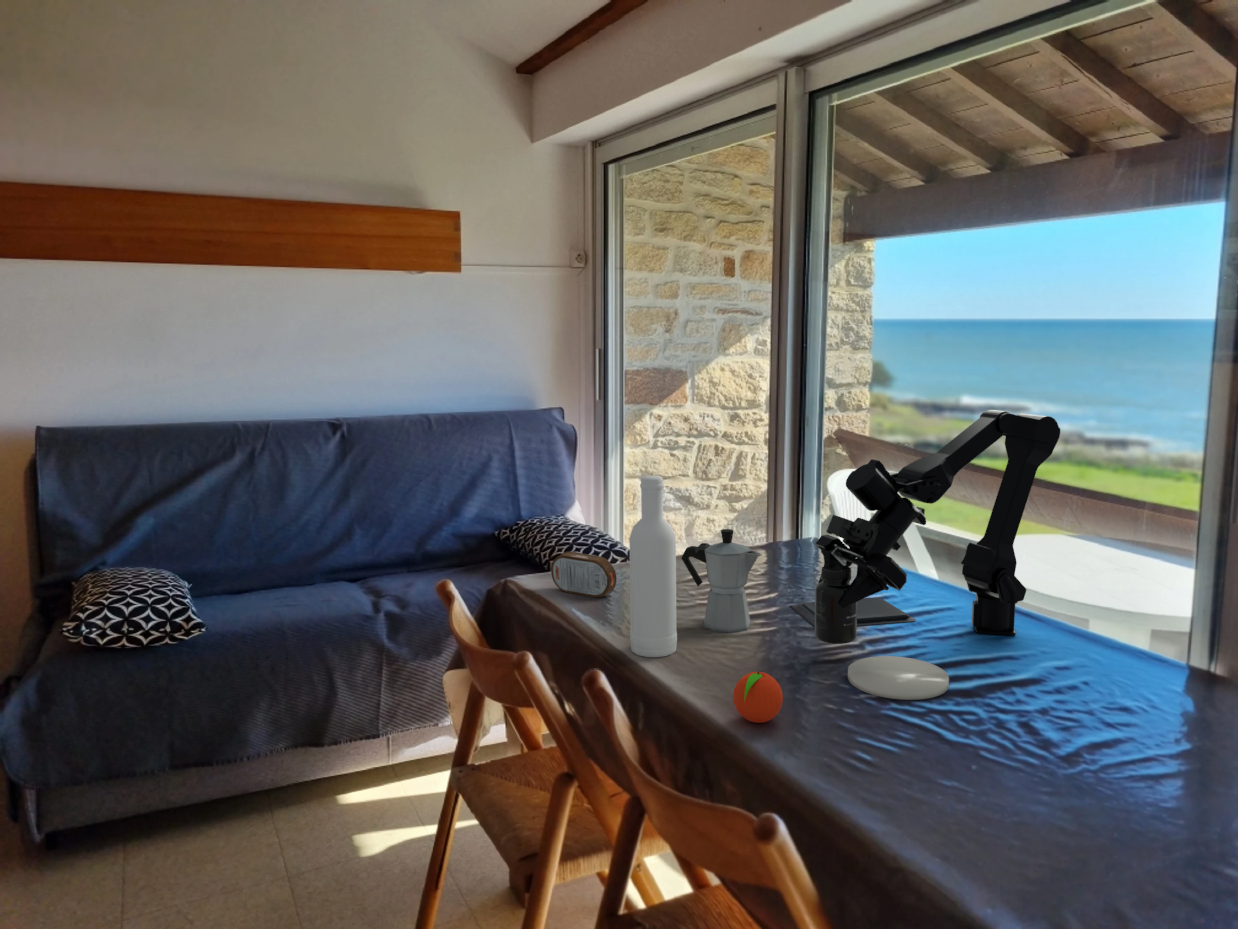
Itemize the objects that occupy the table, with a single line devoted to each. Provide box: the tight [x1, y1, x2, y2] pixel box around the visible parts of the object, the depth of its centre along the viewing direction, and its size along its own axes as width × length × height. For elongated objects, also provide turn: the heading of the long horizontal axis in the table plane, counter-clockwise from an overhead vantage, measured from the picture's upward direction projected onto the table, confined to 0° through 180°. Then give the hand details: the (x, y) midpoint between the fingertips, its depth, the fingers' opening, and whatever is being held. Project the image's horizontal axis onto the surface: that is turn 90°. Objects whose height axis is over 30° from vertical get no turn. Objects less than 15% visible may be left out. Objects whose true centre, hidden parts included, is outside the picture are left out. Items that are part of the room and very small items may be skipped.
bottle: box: [629, 474, 678, 658], centre depth 160 cm, size 8×8×30 cm
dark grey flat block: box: [789, 597, 916, 628], centre depth 180 cm, size 20×2×15 cm
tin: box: [550, 551, 618, 599], centre depth 195 cm, size 15×3×8 cm, turn 58°
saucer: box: [847, 655, 950, 701], centre depth 146 cm, size 15×15×1 cm
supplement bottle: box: [814, 565, 858, 645], centre depth 156 cm, size 7×7×12 cm
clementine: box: [732, 671, 784, 724], centre depth 132 cm, size 8×7×7 cm
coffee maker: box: [680, 528, 762, 634], centre depth 173 cm, size 15×9×18 cm, turn 71°
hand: (828, 600), depth 156 cm, fingers closed on supplement bottle, 7 cm apart
